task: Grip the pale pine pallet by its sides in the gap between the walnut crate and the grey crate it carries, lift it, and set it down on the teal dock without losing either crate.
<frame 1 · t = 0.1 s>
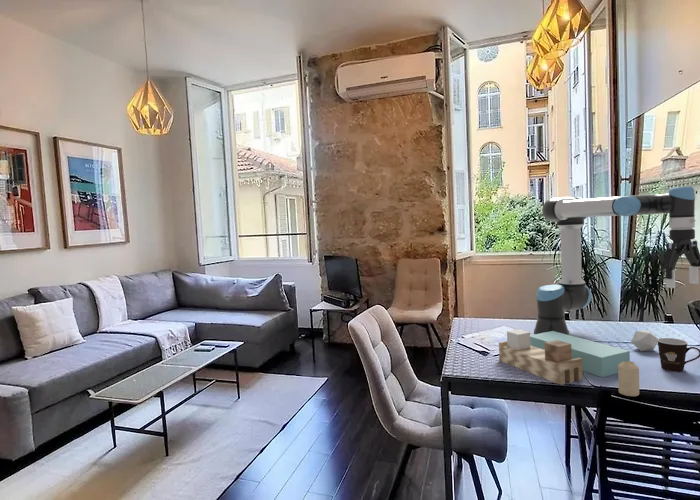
hand: (682, 285, 162), 28 cm above the table, tool pointing down, fingers open, 13 cm apart
pallet: (537, 370, 162), on the table, touching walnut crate
coffee mug: (676, 370, 153), on the table
die: (644, 350, 177), on the table
dock: (575, 360, 169), on the table
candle: (628, 393, 137), on the table
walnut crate: (558, 360, 153), point 6 cm above the table, touching pallet
grey crate: (518, 346, 170), point 6 cm above the table
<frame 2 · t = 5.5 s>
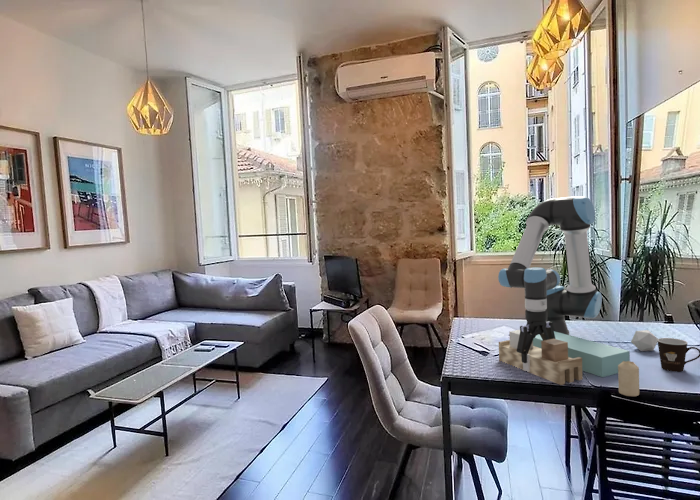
hand: (537, 368, 162), 0 cm above the table, tool pointing down, fingers closed on pallet, 10 cm apart
pallet: (537, 369, 162), on the table, touching grey crate, gripper
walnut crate: (554, 358, 154), point 6 cm above the table
grey crate: (521, 347, 169), point 6 cm above the table, touching pallet
everything else where it was.
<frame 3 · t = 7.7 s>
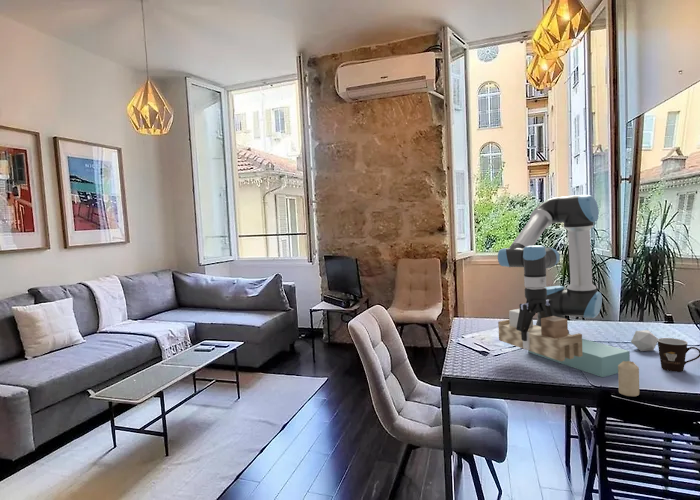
hand: (537, 346, 162), 9 cm above the table, tool pointing down, fingers closed on pallet, 10 cm apart
pallet: (537, 347, 162), point 8 cm above the table, touching grey crate, gripper, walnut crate
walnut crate: (554, 335, 154), point 15 cm above the table, touching pallet
grey crate: (521, 326, 169), point 15 cm above the table, touching pallet
everything else where it was.
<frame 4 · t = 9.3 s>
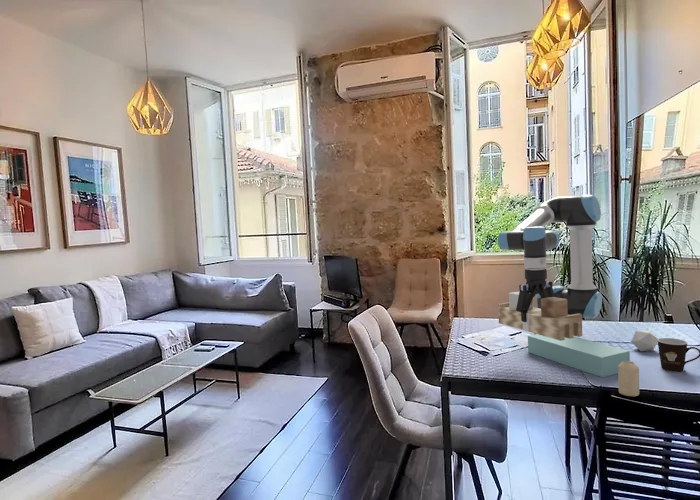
hand: (537, 328, 161), 16 cm above the table, tool pointing down, fingers closed on pallet, 10 cm apart
pallet: (537, 329, 161), point 15 cm above the table, touching grey crate, gripper, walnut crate
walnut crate: (554, 315, 153), point 22 cm above the table, touching pallet
grey crate: (521, 308, 168), point 22 cm above the table, touching pallet
everything else where it was.
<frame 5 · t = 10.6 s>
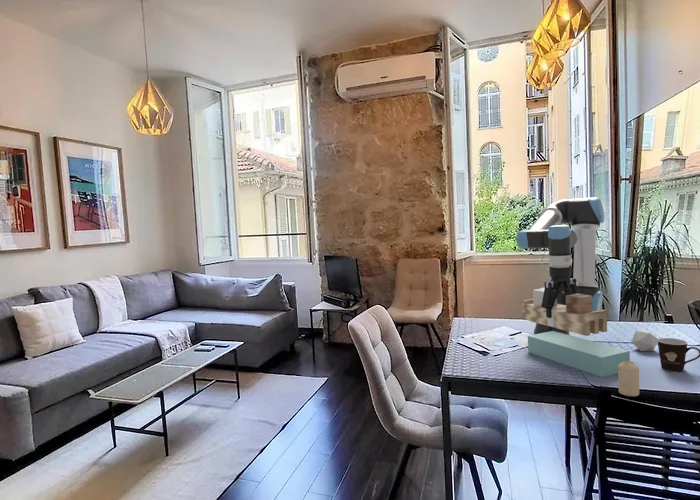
hand: (561, 323, 166), 15 cm above the table, tool pointing down, fingers closed on pallet, 10 cm apart
pallet: (561, 324, 166), point 15 cm above the table, touching grey crate, gripper, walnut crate
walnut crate: (579, 311, 158), point 21 cm above the table, touching pallet
grey crate: (545, 304, 173), point 21 cm above the table, touching pallet
everything else where it was.
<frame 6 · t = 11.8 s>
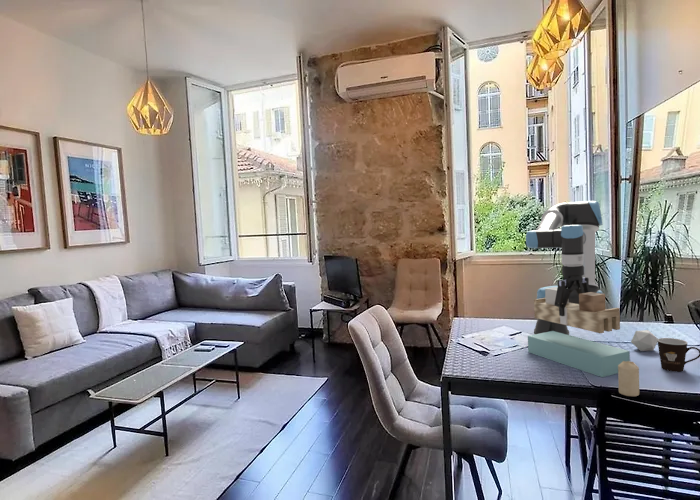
hand: (574, 322, 168), 15 cm above the table, tool pointing down, fingers closed on pallet, 10 cm apart
pallet: (574, 323, 168), point 15 cm above the table, touching grey crate, gripper, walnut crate
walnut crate: (592, 310, 160), point 21 cm above the table, touching pallet
grey crate: (557, 303, 175), point 21 cm above the table, touching pallet
everything else where it was.
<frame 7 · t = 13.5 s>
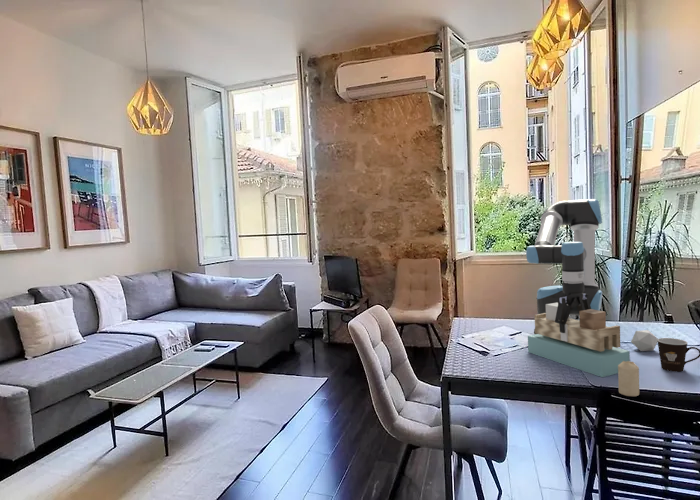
hand: (574, 338, 169), 9 cm above the table, tool pointing down, fingers closed on pallet, 10 cm apart
pallet: (574, 339, 169), point 8 cm above the table, touching grey crate, gripper, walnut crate
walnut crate: (592, 327, 161), point 15 cm above the table, touching pallet
grey crate: (557, 319, 176), point 15 cm above the table, touching pallet
everything else where it was.
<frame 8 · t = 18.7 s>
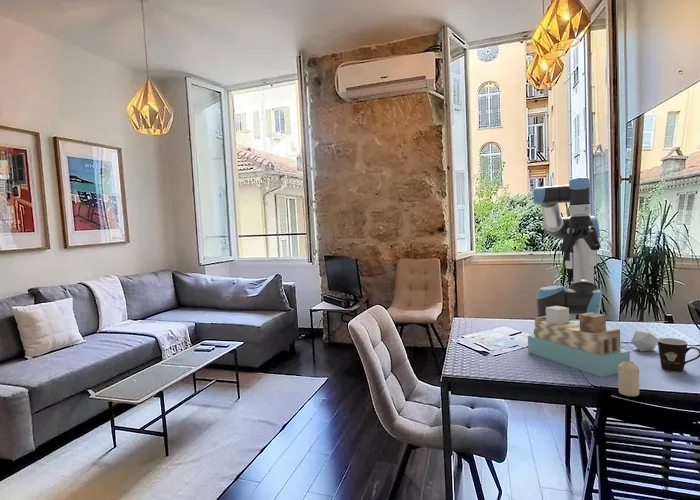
hand: (581, 267, 179), 35 cm above the table, tool pointing down, fingers open, 13 cm apart
pallet: (574, 342, 169), point 7 cm above the table, touching dock, grey crate, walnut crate
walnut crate: (592, 330, 161), point 13 cm above the table, touching pallet
grey crate: (557, 322, 176), point 13 cm above the table, touching pallet
everything else where it was.
at the end: pallet inside the target area (0.1 cm from its centre), point 7.0 cm above the table; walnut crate inside the target area on the pallet (8.0 cm from its centre), point 6.5 cm above the pallet's base; grey crate inside the target area on the pallet (7.9 cm from its centre), point 6.5 cm above the pallet's base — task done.
